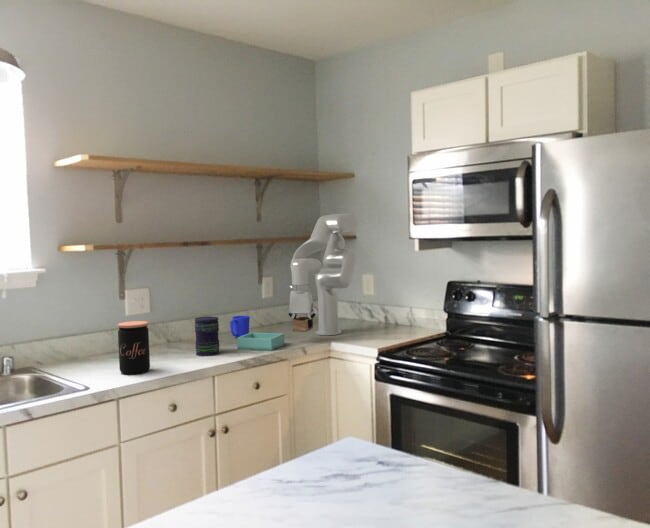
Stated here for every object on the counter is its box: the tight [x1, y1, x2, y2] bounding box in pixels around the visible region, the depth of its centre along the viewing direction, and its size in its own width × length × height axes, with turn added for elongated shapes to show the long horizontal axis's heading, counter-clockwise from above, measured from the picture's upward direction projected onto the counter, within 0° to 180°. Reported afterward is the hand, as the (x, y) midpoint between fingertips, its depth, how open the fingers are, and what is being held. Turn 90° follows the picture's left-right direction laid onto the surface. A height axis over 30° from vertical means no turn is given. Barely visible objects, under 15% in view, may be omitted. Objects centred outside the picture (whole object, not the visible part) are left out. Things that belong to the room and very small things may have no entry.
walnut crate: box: [291, 316, 314, 333], centre depth 273 cm, size 9×6×5 cm
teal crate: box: [236, 332, 286, 352], centre depth 264 cm, size 14×16×5 cm
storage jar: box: [194, 316, 221, 357], centre depth 252 cm, size 10×10×15 cm
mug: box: [229, 315, 251, 339], centre depth 288 cm, size 8×12×10 cm
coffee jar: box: [117, 320, 151, 376], centre depth 223 cm, size 11×11×18 cm
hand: (302, 327), depth 273 cm, fingers closed on walnut crate, 6 cm apart
